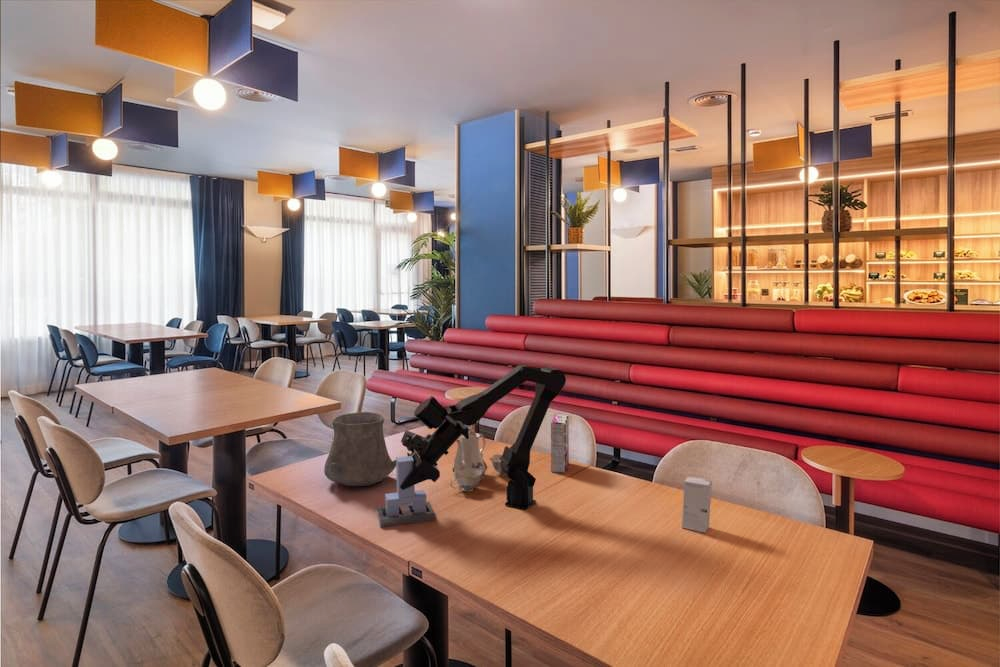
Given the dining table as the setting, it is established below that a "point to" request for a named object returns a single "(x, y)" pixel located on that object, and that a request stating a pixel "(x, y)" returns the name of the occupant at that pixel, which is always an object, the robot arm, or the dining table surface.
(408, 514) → the rail
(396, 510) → the blue-gray inverted t block
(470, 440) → the chinaware
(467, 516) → the dining table surface
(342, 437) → the vessel
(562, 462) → the candy bar box
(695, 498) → the skincare box
